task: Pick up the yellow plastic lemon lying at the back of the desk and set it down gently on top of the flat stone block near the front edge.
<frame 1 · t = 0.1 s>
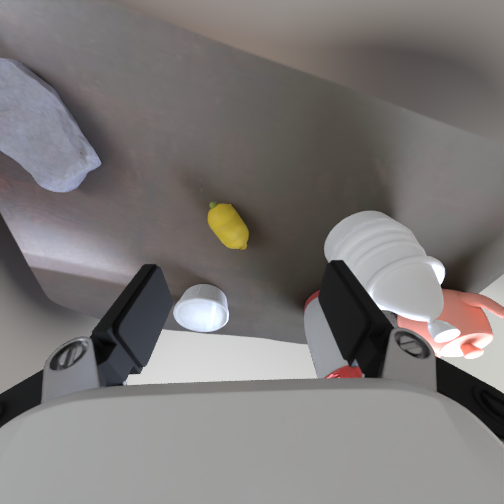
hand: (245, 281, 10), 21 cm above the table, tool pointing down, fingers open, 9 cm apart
citrus juicer: (331, 302, 44), on the table
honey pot: (357, 242, 35), on the table
stone block: (55, 131, 24), on the table
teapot: (425, 302, 45), on the table
lemon: (230, 220, 31), on the table
ramekin: (206, 296, 42), on the table
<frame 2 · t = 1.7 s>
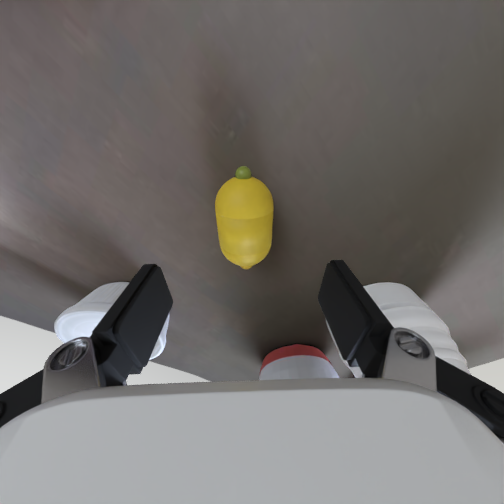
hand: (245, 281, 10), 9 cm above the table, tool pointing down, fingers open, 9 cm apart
citrus juicer: (295, 358, 35), on the table
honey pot: (367, 311, 28), on the table
lemon: (245, 213, 18), on the table
ramekin: (136, 303, 25), on the table
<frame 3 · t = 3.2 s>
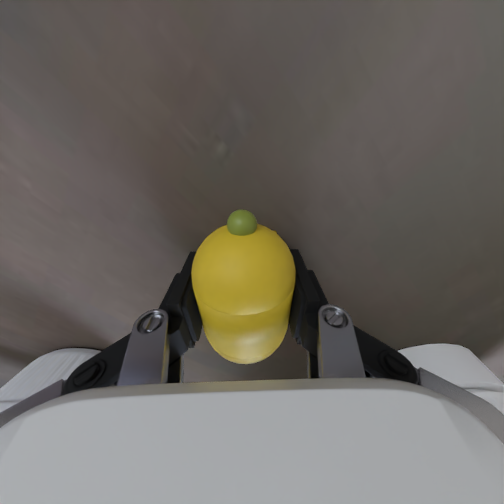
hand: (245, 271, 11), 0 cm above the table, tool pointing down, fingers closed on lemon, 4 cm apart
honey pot: (405, 371, 21), on the table
lemon: (245, 267, 11), on the table, touching gripper
ramekin: (98, 367, 19), on the table
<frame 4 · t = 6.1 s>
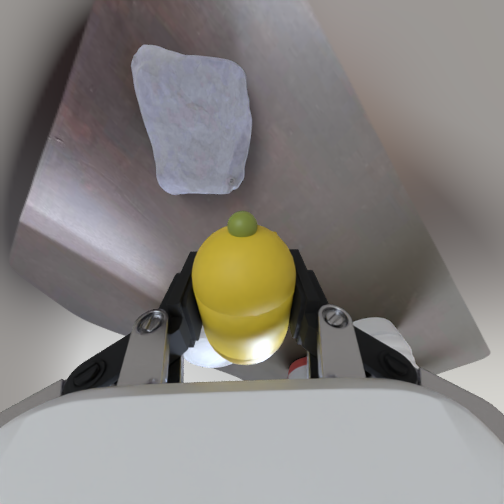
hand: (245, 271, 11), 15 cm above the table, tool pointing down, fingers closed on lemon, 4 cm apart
citrus juicer: (311, 365, 49), on the table
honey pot: (363, 334, 42), on the table
stone block: (206, 135, 20), on the table
lemon: (245, 268, 12), point 15 cm above the table, touching gripper
ramekin: (214, 328, 39), on the table
when the fingers open (5 cm above the table, at t = 8.9 s): lemon stays where it is, resting on stone block.
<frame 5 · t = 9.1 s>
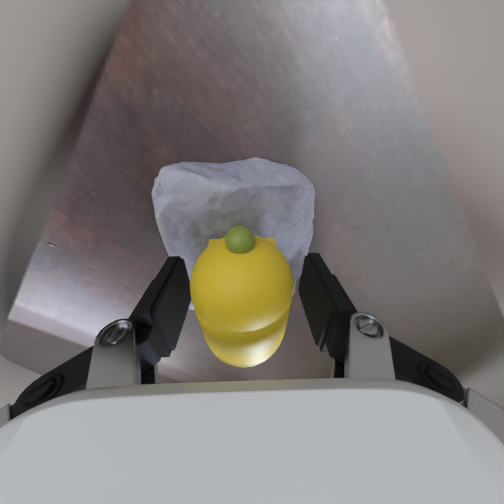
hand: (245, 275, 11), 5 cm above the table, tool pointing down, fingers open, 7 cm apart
stone block: (244, 236, 15), on the table, touching lemon
lemon: (243, 271, 12), point 4 cm above the table, tilted 5°, touching stone block
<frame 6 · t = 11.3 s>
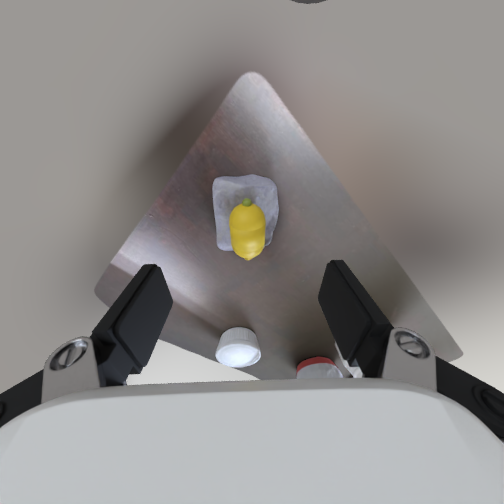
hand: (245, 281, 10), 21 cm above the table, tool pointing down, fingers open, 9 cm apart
citrus juicer: (315, 365, 59), on the table
stone block: (247, 211, 30), on the table, touching lemon
lemon: (247, 223, 27), point 4 cm above the table, tilted 5°, touching stone block
ramekin: (238, 336, 49), on the table
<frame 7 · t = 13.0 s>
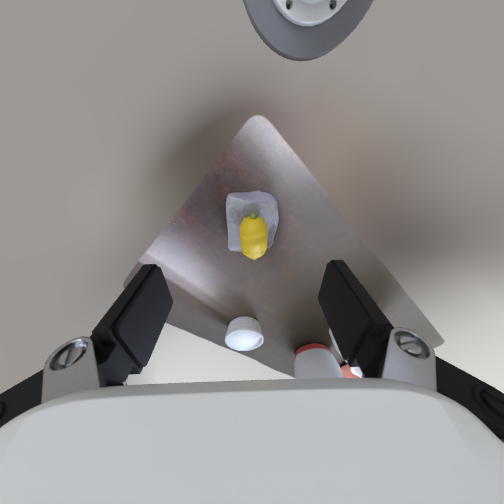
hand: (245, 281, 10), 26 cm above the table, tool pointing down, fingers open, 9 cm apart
citrus juicer: (312, 351, 66), on the table
stone block: (252, 219, 37), on the table, touching lemon
lemon: (253, 230, 33), point 4 cm above the table, tilted 5°, touching stone block
ramekin: (244, 324, 56), on the table
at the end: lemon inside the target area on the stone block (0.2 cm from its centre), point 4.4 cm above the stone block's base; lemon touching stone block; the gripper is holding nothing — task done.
